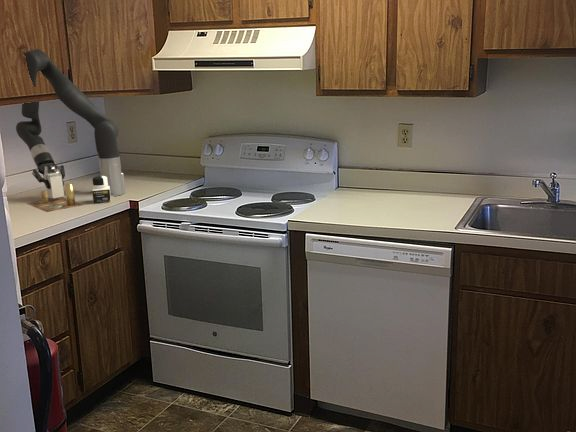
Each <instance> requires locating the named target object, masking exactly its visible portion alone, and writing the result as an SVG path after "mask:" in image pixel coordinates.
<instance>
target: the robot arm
mask: <svg viewBox="0 0 576 432" xmlns="http://www.w3.org/2000/svg"><path fill="white" fill-rule="evenodd" d="M34 49H35V50H33V49H30V50H31V51H29V50H27V51H28V52H27V51H25V52H26V53H25V52H24V53H25V56H26V62H27V67H28V71H29V75H30V78H31V80H32V82H33V85H34V87H36V88H37V84H36V83H37V76H38V72H39V71H41V72H42V74H43V75H42V74H41V75H42V76H43V77H44V78H46V80H47V81H48V82H49V83H50V85H51V87H52V89H53V91H54V93H55V96H56V97H57V98H58V99H59V101H61V102H62V104H64V105H65V107H67V108H68V109H69V110H70V111H72V113H74V114H76V115H77V116H79V117H80V118H82V119H84V120H85V121H86V122H88V123H89V124H90V125H91V127H93V129H94V133H93V134H94V142H95V149H96V153H97V156H98V162H99V163H98V165H99V171H100V172H99V173H100V176H106V177H107V181H108V186H110V195H111V197H117V196H122V195H124V194H126V184H125V175H124V172H122V164H121V157H120V156H121V155H120V150H119V148H118V144H117V143H118V142H117V138H118V137H119V131H120V130H119V127H118V125H117V123H115V121H113V120H112V119H110V117H108V116H107V115H105V114H104V113H103V112H102V111H100V109H98V107H96V105H95V103H93V102H92V101H91V100H90V99H89V98H88V97H87V96H86V95H85V94H84V92H83V91H81V90H80V89H79V88H78V87H77V86H76V85H75V84H74V83H73V82H72V81H71V80H70V79H69V78H68V77H67V76H66V75H65V73H63V72H62V71H61V70H60V69H59V68H58V67H57V65H56V64H55V63H54V61H52V59H51V58H50V56H48V55H47V54H46V52H44V51H42V50H41V49H38V48H34ZM39 110H40V100H39V101H38V102H31V103H24V104H22V103H21V115H22V117H24V118H27V119H31V120H29V121H28V120H27V121H18V122H17V123H16V126H15V131H16V134H17V135H18V137H19V138H20V139H21V140H22V141H23V142H24V144H26V145H27V147H28V150H29V152H30V154H31V158H32V160H33V161H34V164H35V166H36V168H37V169H36V168H33V169H32V176H33V177H34V179H36V180H37V182H38V183H40V184H41V183H43V184H44V186H45V189H47V188H48V189H51V185H50V183H49V181H48V180H47V176H46V174H50V173H60V174H61V176H62V183H63V187H65V182H64V179H65V177H66V170H65V166H64V165H63V164H61V165H57V164H56V163H55V161H54V158H53V156H52V154H51V152H50V150H49V148H48V147H47V145H46V143H45V141H44V140H43V139H44V138H43V137H41V136H40V135H41V133H42V125H41V121H40V116H39V112H40V111H39Z"/></svg>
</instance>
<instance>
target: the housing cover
mask: <svg viewBox="0 0 576 432" xmlns="http://www.w3.org/2000/svg"><path fill="white" fill-rule="evenodd" d="M46 176H47V180H48V181H49V183H50V185H51V189H48V188H46V191H47V195H48V198H50V199H52V198H58V197H65V192H64V186H63V183H62V176H61V173H60V172H59V173H50V174H46Z"/></svg>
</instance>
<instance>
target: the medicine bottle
mask: <svg viewBox="0 0 576 432" xmlns="http://www.w3.org/2000/svg"><path fill="white" fill-rule="evenodd" d="M91 181H92V190H91V193H92V200H93V202H92V203H93V205H95V204H108V203H112V196H111V195H110V186H108V181H107V177H106V176H101V175H97V176H93V178H92V180H91Z"/></svg>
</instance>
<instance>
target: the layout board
mask: <svg viewBox="0 0 576 432" xmlns="http://www.w3.org/2000/svg"><path fill="white" fill-rule="evenodd" d="M40 194H41V195H40V196H41V200H36V201H30V202H26V203H25V204H27V205H29V206H31V207H34V208H36V209H38V210H41V211H44V212H45V213H50V212H55V211H59V210H64V209H69V208H75V207H80V206H85V204H83V203H80V202H78V201H75V204H76V205H74V206H68V205H67V198H66V197H65V196H63V197H58V198H49V197H48V195H47V190H43V191H41V192H40Z"/></svg>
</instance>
